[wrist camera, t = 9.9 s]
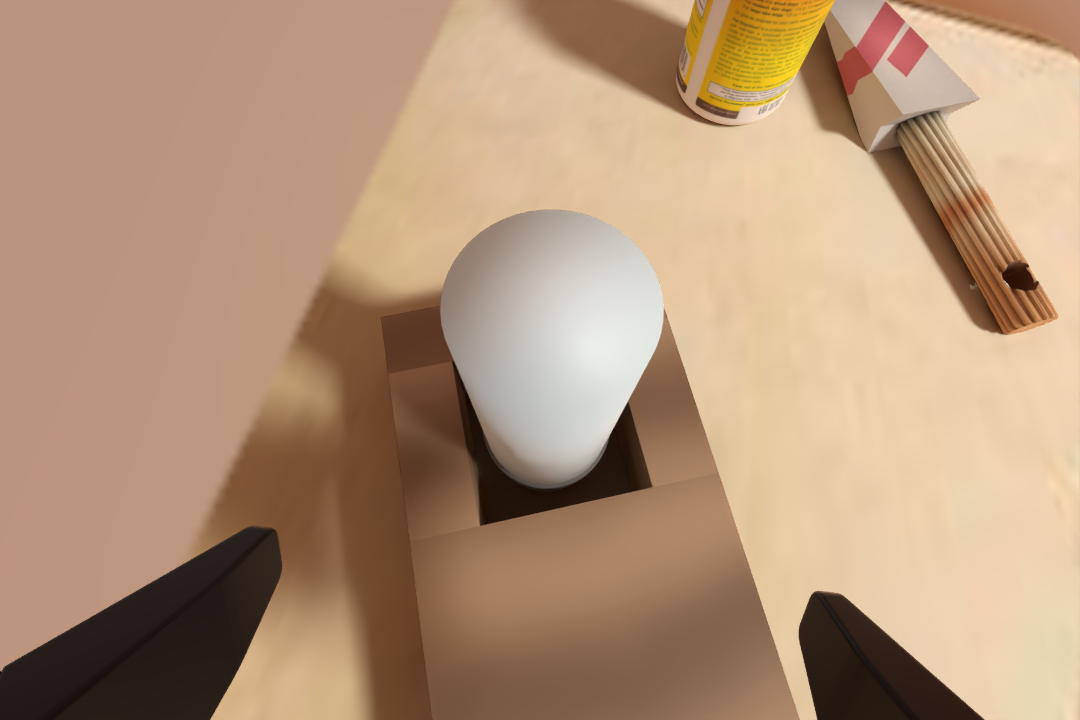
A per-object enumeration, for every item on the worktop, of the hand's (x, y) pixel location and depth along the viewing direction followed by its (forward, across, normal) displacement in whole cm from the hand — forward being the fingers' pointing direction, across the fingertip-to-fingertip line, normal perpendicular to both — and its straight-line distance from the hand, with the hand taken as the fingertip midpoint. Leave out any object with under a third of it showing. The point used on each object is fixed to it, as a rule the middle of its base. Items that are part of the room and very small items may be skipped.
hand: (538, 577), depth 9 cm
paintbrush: (+23, -16, -7) cm, 29 cm away
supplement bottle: (+25, -7, -9) cm, 28 cm away
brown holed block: (+9, -1, +7) cm, 12 cm away
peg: (+11, 0, +5) cm, 12 cm away
